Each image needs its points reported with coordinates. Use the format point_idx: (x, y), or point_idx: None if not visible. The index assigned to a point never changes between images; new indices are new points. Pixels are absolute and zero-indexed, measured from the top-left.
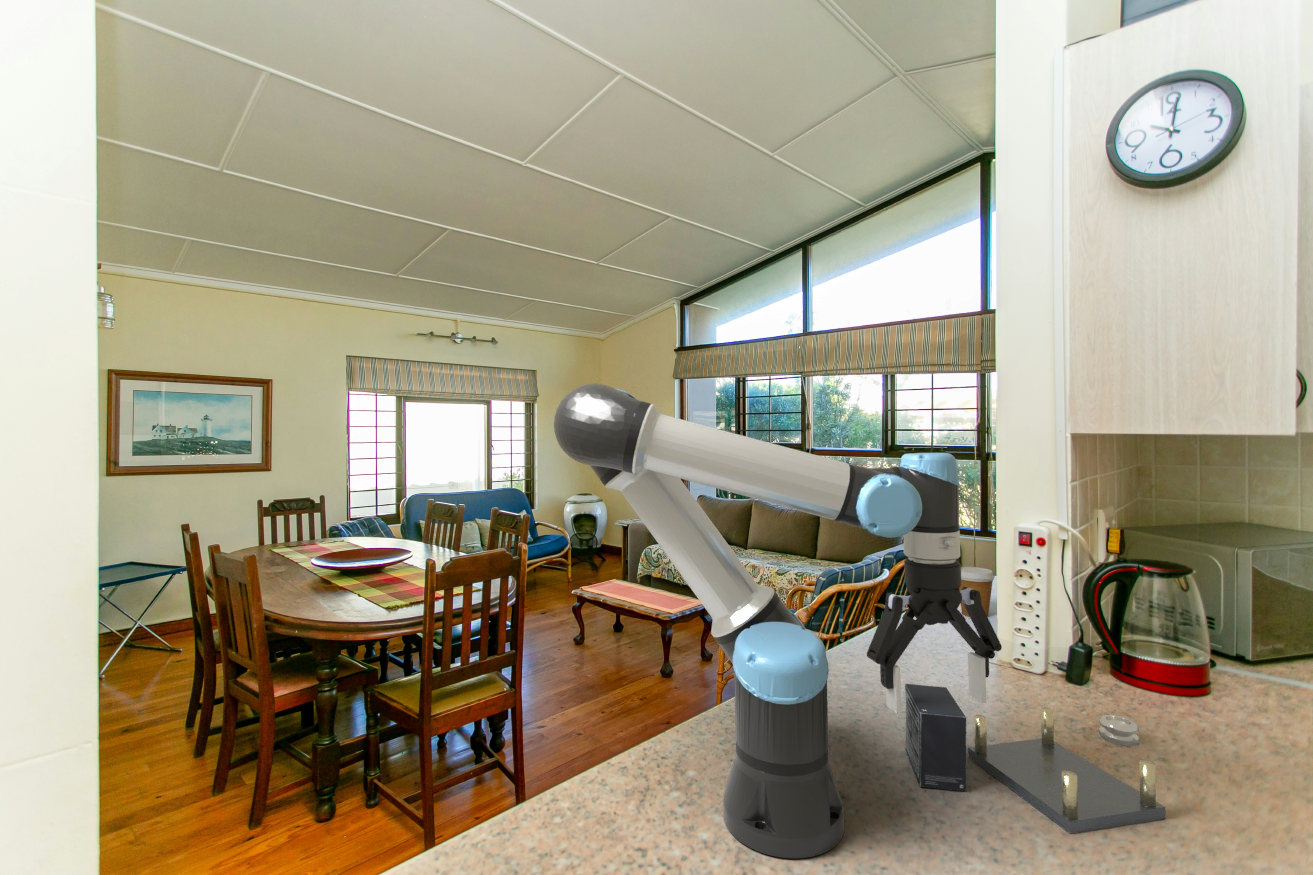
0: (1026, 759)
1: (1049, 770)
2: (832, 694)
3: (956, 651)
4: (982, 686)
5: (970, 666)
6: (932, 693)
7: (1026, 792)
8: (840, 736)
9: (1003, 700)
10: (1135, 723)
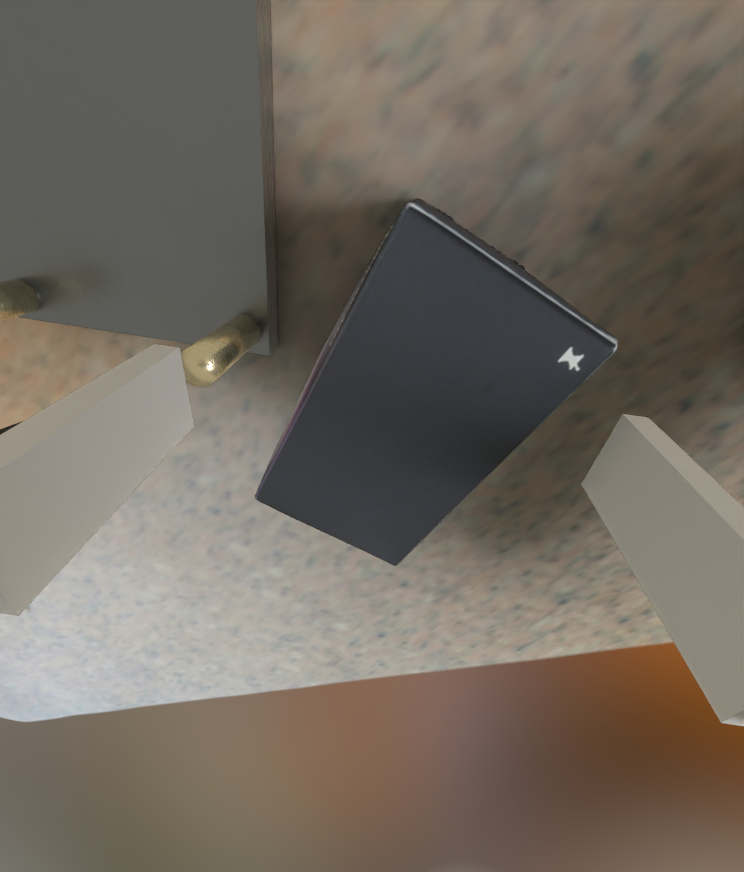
0: (140, 237)
1: (101, 148)
2: (383, 616)
3: (52, 633)
4: (118, 382)
5: (88, 517)
6: (366, 475)
7: (261, 61)
8: (499, 514)
9: None
10: None
